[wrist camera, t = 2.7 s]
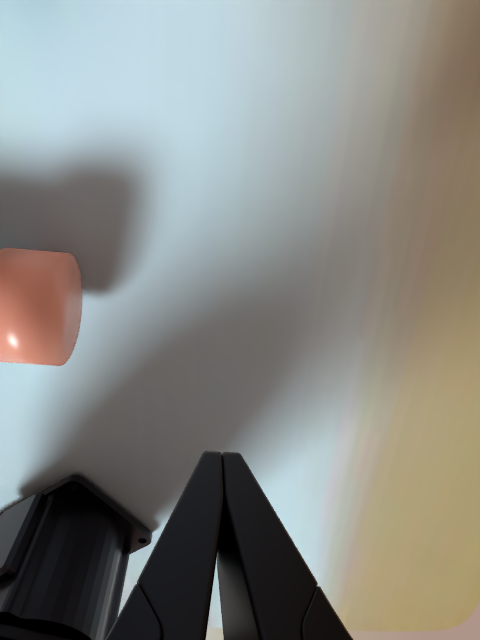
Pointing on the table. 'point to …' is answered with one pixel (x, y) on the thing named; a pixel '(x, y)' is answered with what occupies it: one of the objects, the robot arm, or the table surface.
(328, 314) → the table surface
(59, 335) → the red knob
